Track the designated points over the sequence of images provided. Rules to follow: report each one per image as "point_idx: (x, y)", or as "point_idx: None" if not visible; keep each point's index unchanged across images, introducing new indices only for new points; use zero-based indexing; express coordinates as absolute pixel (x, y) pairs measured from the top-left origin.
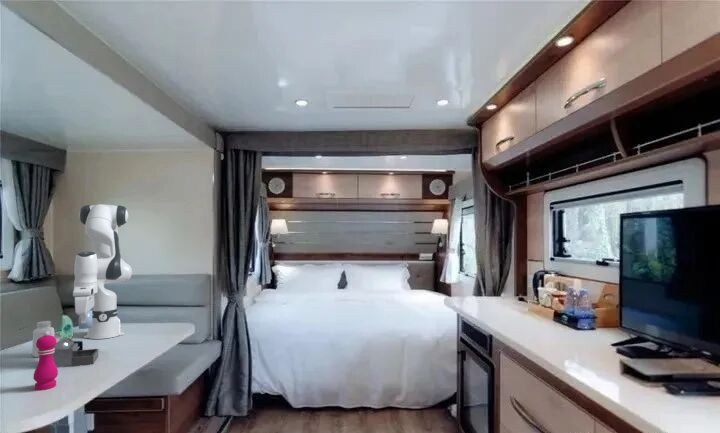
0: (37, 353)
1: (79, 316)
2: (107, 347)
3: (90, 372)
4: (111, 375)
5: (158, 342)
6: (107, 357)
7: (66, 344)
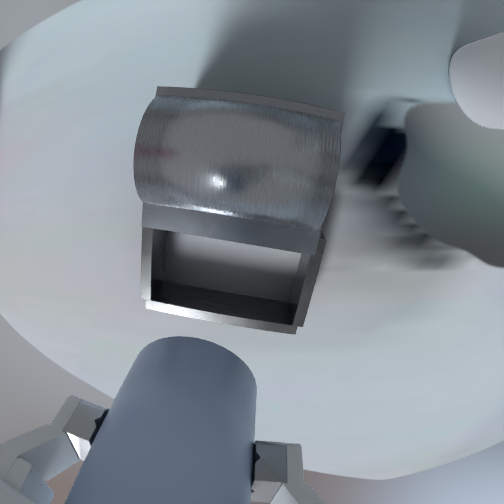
0: (459, 54)
1: (99, 454)
2: (438, 338)
3: (52, 272)
4: (19, 320)
5: (366, 457)
6: (252, 342)
7: (138, 194)
